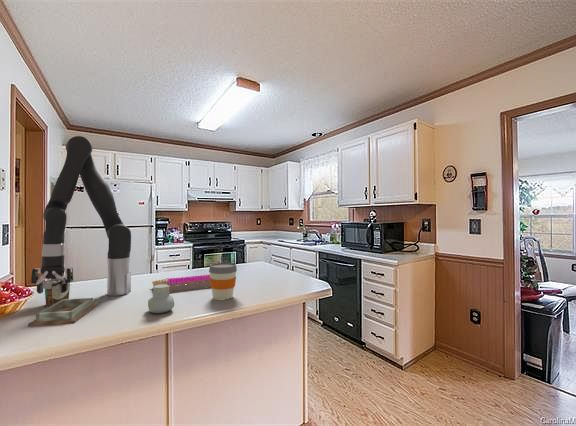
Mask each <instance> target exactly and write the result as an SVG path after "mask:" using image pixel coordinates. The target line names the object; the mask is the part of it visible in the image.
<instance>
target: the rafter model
mask: <svg viewBox="0 0 576 426" xmlns="http://www.w3.org/2000/svg"><path fill="white" fill-rule="evenodd" d="M151 283H152V286H153V287H154V286H156V285H161V284H166V285H169V294H170V293H178V292H186V291H193V290H192V289H195V290H200V289H199V288H203V289H207V288H206V287H211V285H210V273H209V274H203V275H202V274H200V275H193V276H181V277H173V278H172V277H171V278H169V277H168V278H163V279H157V280H154V281H151ZM194 283H196V284H194ZM185 284H187V285H185ZM177 285H178V286H177ZM153 287H152V288H153ZM185 290H186V291H185Z"/></svg>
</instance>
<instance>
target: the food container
mask: <svg viewBox="0 0 576 426" xmlns="http://www.w3.org/2000/svg"><path fill="white" fill-rule="evenodd" d="M66 279H67V277H66ZM42 284H43V287H42V288H43V290H44V297H45V299H44V300H45V307H46V308H48V307H50V306H52V305H53V304H55V303H57V302H59V301H61V300H63V299H70V289H71V287H70V286H71V282H69V283H68V289H67V291H66V292H64V293H62V282H61V281H60V280H58V279H57V278H56V279H52V278H51V279H47V280H45V281H44V282H43V283H42Z"/></svg>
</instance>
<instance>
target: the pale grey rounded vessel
mask: <svg viewBox="0 0 576 426" xmlns="http://www.w3.org/2000/svg"><path fill="white" fill-rule="evenodd" d="M147 306H148V307H147V308H148V310H149V312H150V313H153V314H164V313H167V312H169V311H172V309H174V307H175V299H174V297H173V296H172V295H170V293H169V285H166V284H161V285H156V286H154V287H152V297H150V298H149V299H148V301H147Z"/></svg>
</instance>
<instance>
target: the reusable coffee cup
mask: <svg viewBox="0 0 576 426" xmlns="http://www.w3.org/2000/svg"><path fill="white" fill-rule="evenodd" d="M237 271H238V270H237V264H236V263H233V262H217V263H211V264H209V271H208V272H209V274H210V285H211V293H212V299H213V298H214V299H213V300H215V299H219V300H218V301H223V300H222V299H228V300H230V299H229V298H231V297H232V298H233V296H234V289H235V286H236V280H237V276H236V275H237V274H236V273H237ZM232 298H231V299H232Z"/></svg>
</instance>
